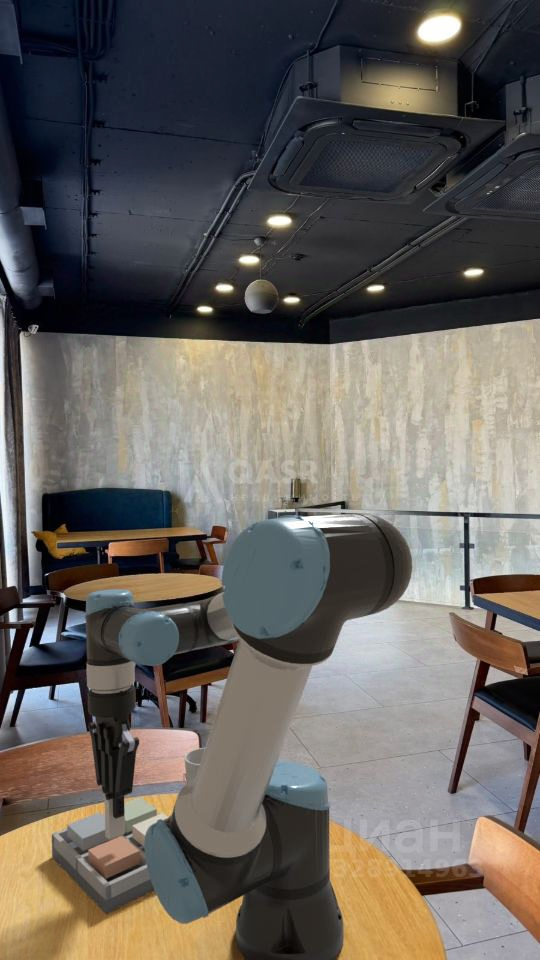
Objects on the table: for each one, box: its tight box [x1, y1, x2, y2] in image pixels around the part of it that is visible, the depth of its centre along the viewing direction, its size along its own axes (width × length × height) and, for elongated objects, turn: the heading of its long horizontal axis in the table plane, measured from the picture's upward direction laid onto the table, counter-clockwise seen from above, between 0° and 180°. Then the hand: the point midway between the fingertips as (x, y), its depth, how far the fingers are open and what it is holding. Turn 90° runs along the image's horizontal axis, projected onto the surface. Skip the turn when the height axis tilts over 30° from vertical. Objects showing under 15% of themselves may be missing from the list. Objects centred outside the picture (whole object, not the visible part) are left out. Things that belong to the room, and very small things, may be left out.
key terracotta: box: [88, 836, 140, 879], centre depth 102 cm, size 6×6×2 cm
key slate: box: [66, 812, 109, 851], centre depth 108 cm, size 6×6×2 cm
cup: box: [183, 747, 205, 784], centre depth 121 cm, size 8×8×12 cm
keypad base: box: [51, 813, 160, 915], centre depth 107 cm, size 20×17×4 cm
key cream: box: [132, 813, 169, 846], centre depth 107 cm, size 6×6×2 cm
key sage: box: [124, 796, 158, 833], centre depth 113 cm, size 6×6×2 cm
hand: (115, 834), depth 101 cm, fingers closed
